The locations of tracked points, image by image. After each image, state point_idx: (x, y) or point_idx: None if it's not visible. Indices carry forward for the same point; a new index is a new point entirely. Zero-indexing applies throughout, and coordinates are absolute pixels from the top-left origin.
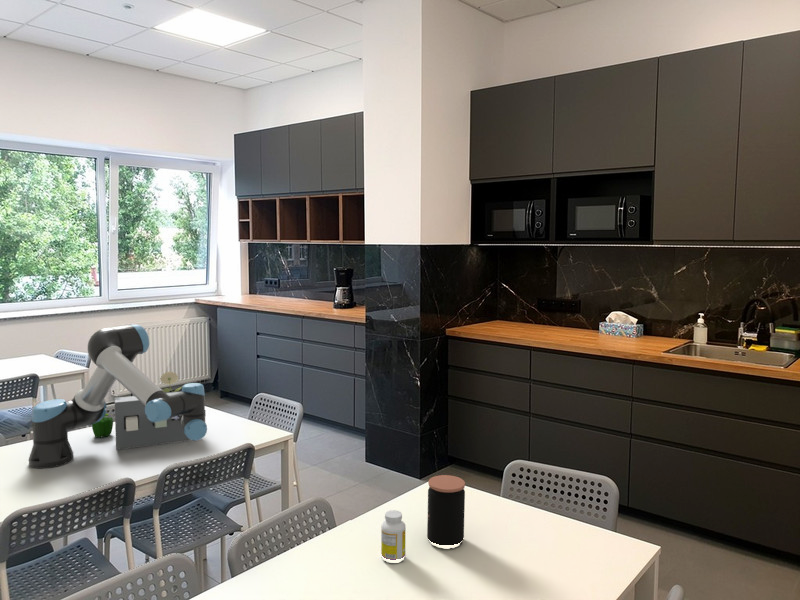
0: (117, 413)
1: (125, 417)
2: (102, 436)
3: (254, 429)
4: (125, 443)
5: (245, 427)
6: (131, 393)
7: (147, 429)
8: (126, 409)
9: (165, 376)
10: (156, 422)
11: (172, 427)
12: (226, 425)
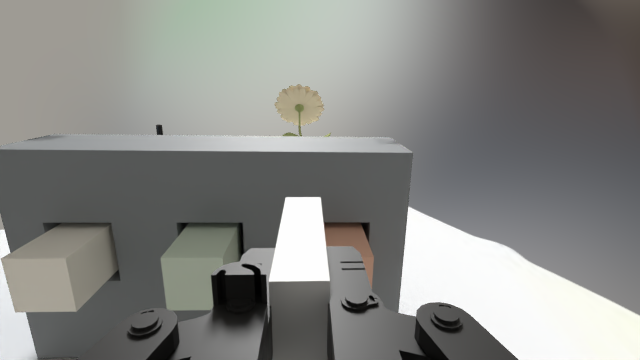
0: (9, 205)
1: (60, 226)
2: None
3: (597, 323)
4: (71, 338)
5: (542, 298)
6: (157, 129)
7: (159, 291)
8: (48, 190)
9: (288, 99)
10: (170, 284)
11: None
12: (461, 270)
